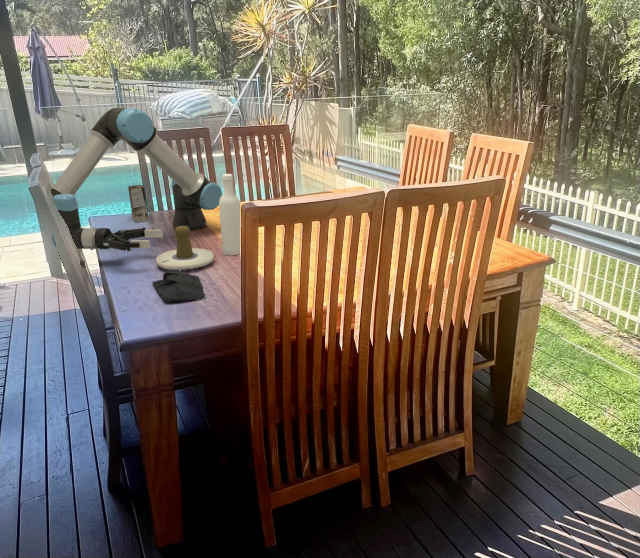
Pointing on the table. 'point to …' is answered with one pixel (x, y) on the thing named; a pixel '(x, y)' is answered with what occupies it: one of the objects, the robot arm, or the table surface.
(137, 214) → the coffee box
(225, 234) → the bottle
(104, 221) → the table surface
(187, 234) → the cork
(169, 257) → the turntable
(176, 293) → the dark grey folded cloth
